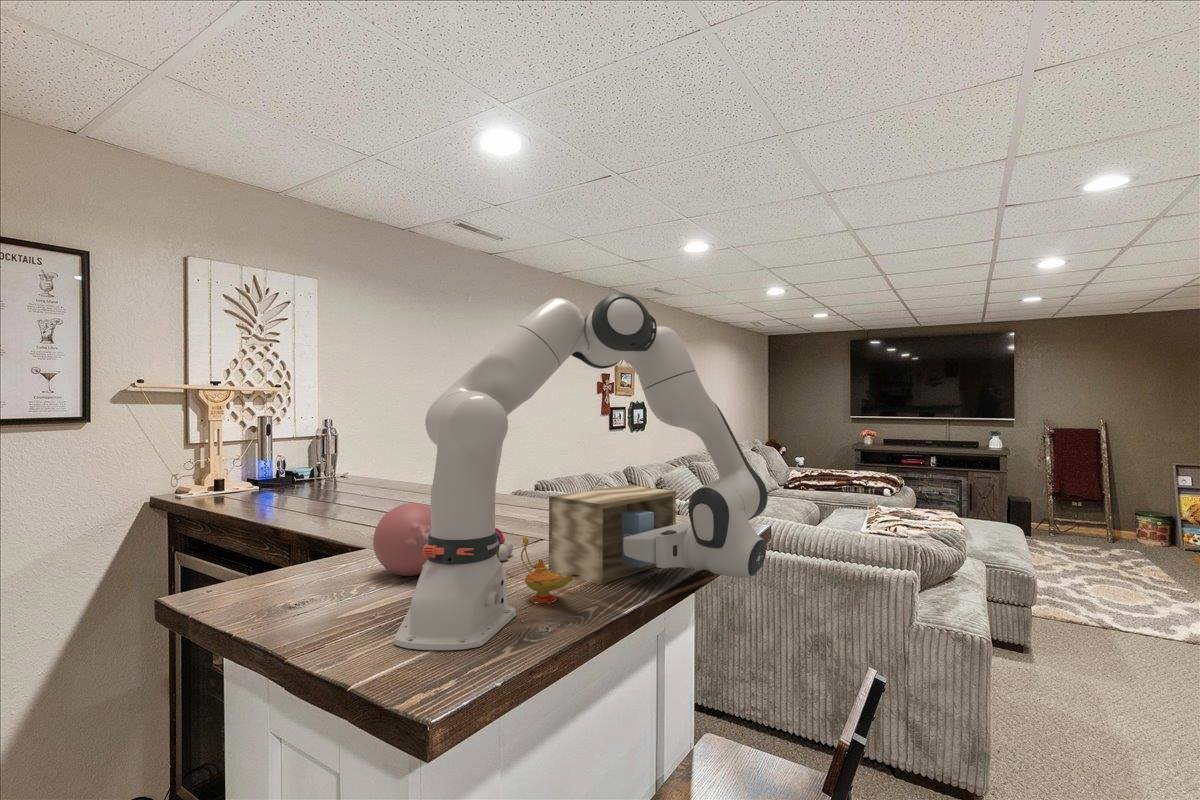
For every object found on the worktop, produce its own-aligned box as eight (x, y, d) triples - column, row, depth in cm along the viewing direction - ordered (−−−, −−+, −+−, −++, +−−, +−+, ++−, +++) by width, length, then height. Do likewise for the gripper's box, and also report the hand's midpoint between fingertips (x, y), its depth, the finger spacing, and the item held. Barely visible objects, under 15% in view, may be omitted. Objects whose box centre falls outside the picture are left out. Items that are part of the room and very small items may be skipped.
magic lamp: (564, 619, 101) (564, 554, 101) (506, 594, 114) (506, 537, 114) (594, 609, 106) (594, 548, 106) (535, 587, 119) (535, 532, 119)
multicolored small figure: (514, 554, 146) (514, 525, 146) (504, 564, 136) (505, 533, 136) (481, 553, 146) (481, 524, 147) (469, 563, 137) (469, 532, 137)
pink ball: (386, 595, 113) (387, 515, 113) (366, 571, 130) (367, 501, 130) (464, 583, 121) (464, 508, 121) (435, 561, 138) (436, 496, 138)
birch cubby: (675, 564, 136) (675, 491, 137) (599, 589, 117) (599, 504, 118) (626, 553, 147) (626, 485, 147) (548, 574, 128) (549, 496, 128)
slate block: (654, 562, 128) (653, 512, 128) (639, 567, 124) (639, 515, 124) (636, 558, 131) (636, 509, 131) (621, 563, 127) (621, 512, 128)
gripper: (714, 521, 127) (663, 513, 136) (657, 537, 112) (603, 527, 121) (715, 551, 126) (663, 541, 136) (657, 570, 111) (603, 557, 121)
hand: (634, 534), depth 128 cm, fingers closed on slate block, 5 cm apart
